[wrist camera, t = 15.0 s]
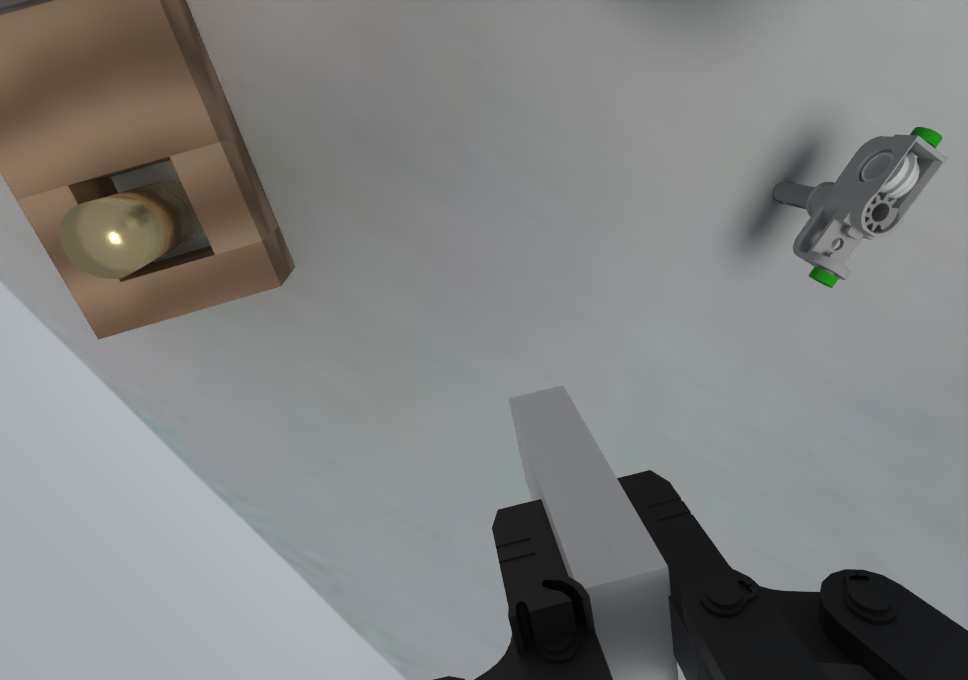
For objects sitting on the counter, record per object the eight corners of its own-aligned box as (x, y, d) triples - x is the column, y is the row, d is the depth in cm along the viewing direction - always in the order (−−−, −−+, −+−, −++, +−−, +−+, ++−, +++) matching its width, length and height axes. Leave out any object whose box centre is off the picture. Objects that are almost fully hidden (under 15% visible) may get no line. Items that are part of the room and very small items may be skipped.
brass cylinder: (131, 190, 37) (43, 214, 28) (190, 173, 37) (121, 192, 28) (160, 247, 39) (85, 288, 30) (216, 231, 39) (158, 267, 30)
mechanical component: (729, 242, 44) (814, 275, 35) (810, 120, 42) (926, 121, 32) (756, 259, 45) (847, 295, 36) (838, 140, 42) (958, 146, 33)
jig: (-39, 0, 32) (-130, -23, 27) (163, -55, 33) (114, -90, 27) (133, 313, 40) (90, 345, 35) (295, 266, 41) (278, 290, 35)
